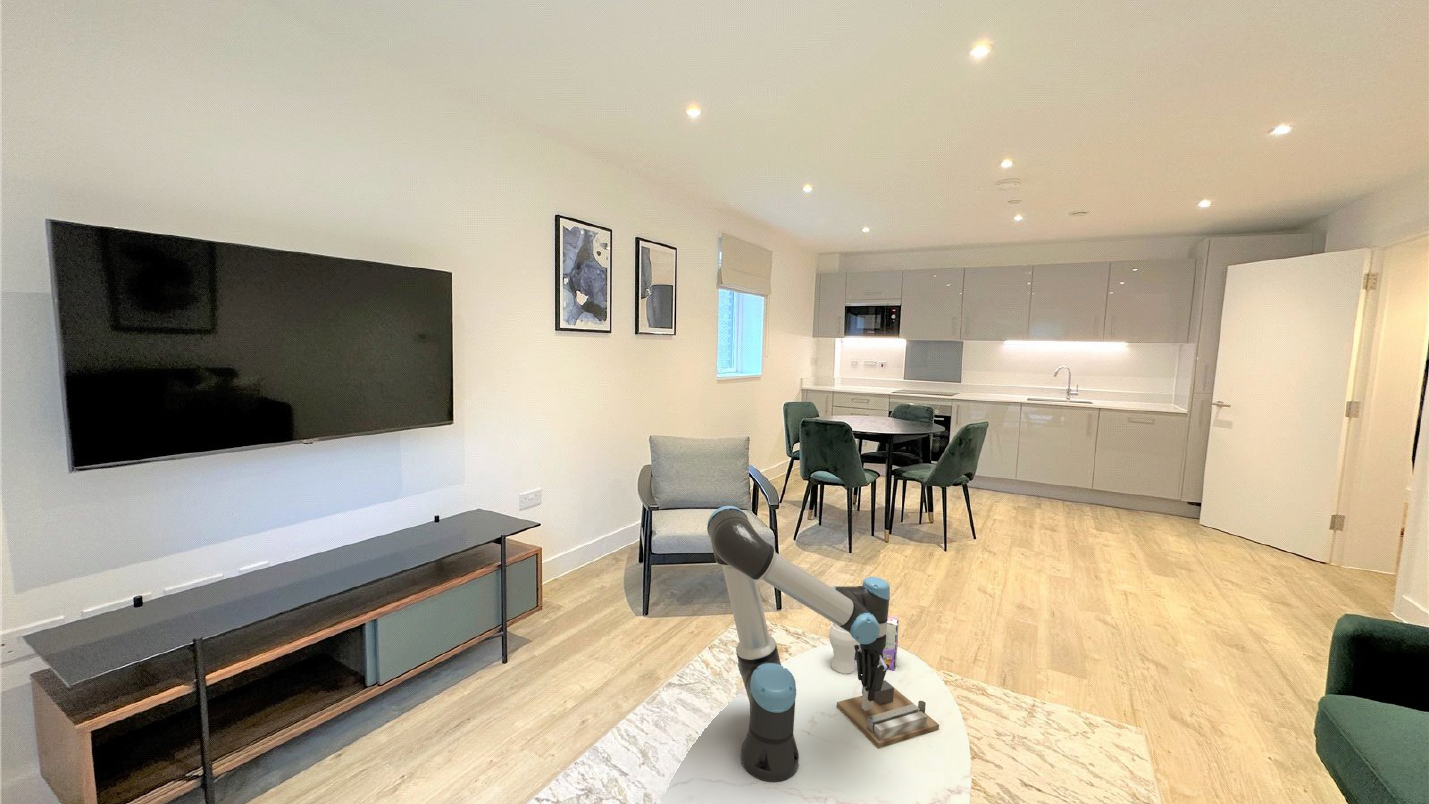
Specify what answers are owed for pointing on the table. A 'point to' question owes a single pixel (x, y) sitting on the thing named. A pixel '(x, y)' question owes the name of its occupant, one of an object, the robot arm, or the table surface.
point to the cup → (842, 649)
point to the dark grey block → (884, 694)
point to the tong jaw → (890, 715)
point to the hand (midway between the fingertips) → (867, 708)
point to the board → (862, 716)
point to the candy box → (890, 643)
